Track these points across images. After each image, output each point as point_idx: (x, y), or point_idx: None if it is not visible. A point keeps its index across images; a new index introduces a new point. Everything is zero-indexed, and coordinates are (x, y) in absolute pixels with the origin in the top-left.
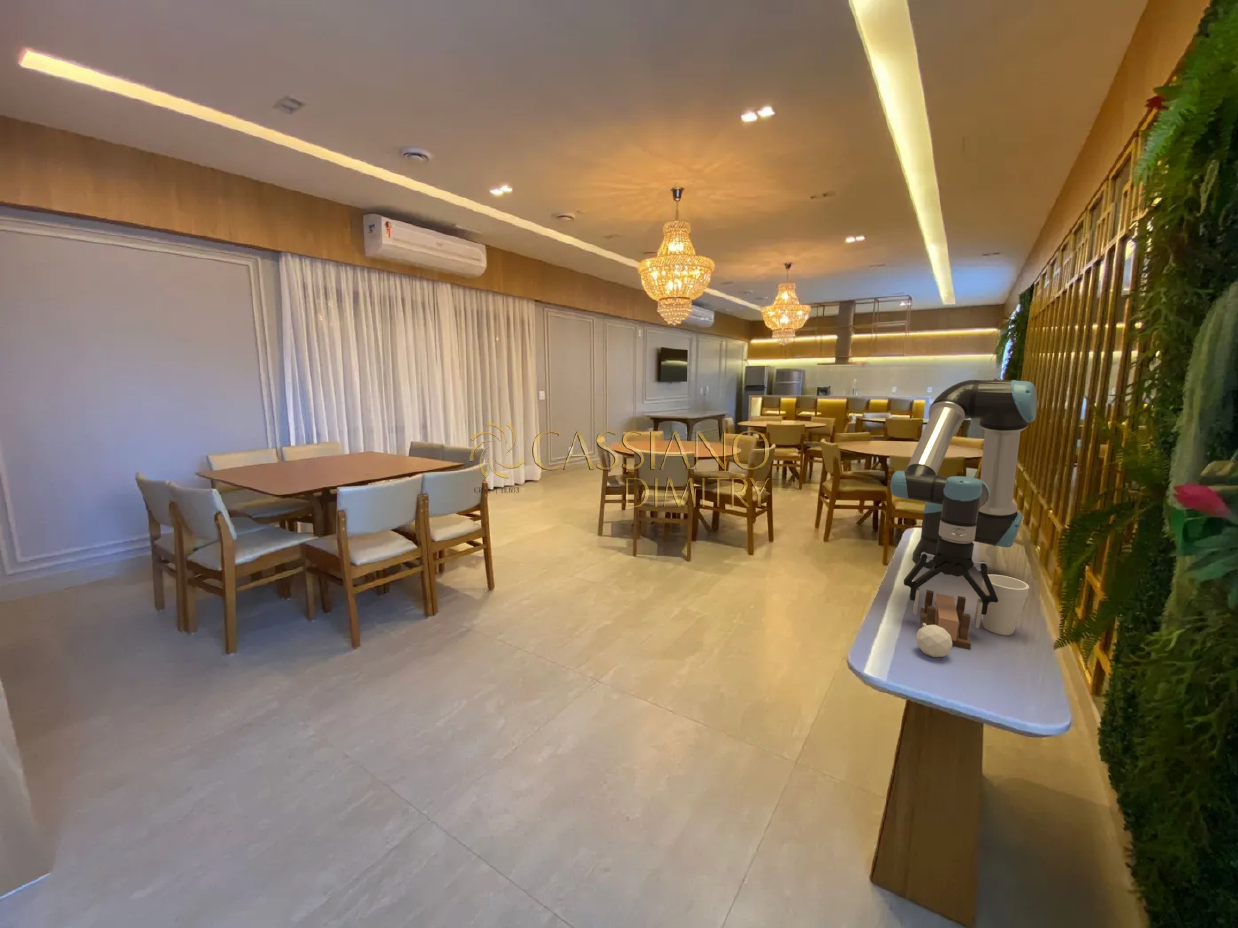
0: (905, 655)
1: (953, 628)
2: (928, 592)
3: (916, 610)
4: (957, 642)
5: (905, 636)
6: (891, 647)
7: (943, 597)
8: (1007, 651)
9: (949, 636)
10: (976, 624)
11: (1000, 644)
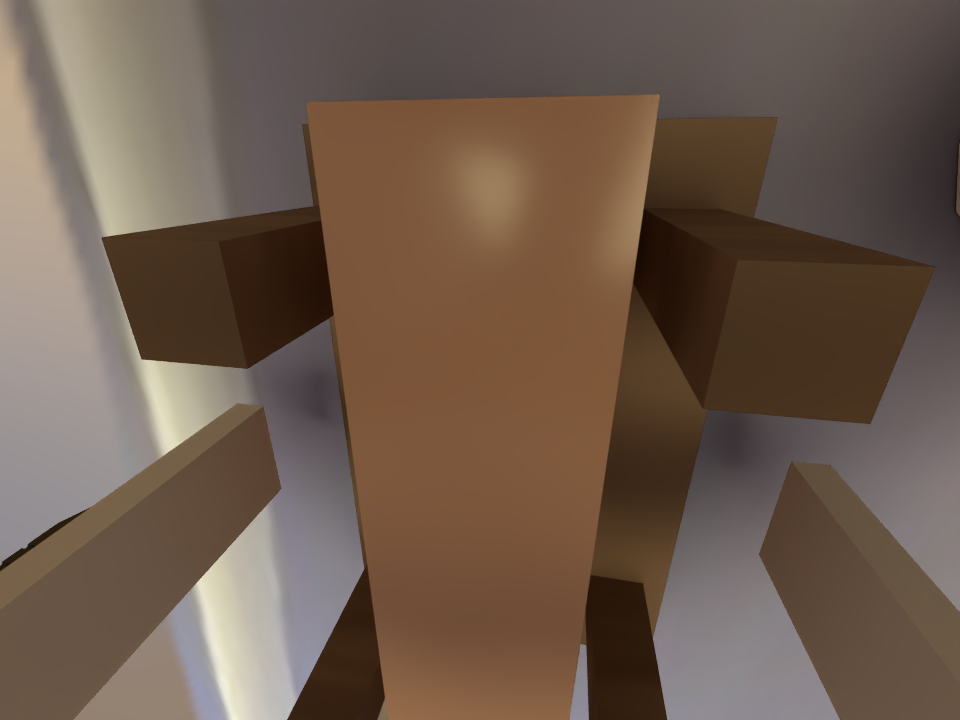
0: None
1: None
2: (172, 356)
3: (251, 514)
4: None
5: (309, 573)
6: (279, 673)
7: (444, 279)
8: None
9: None
10: (778, 580)
11: (925, 490)
